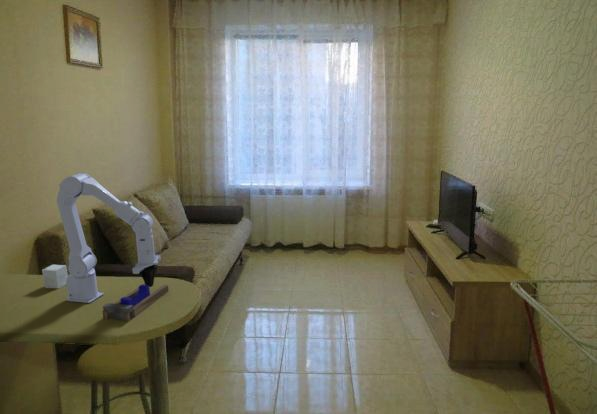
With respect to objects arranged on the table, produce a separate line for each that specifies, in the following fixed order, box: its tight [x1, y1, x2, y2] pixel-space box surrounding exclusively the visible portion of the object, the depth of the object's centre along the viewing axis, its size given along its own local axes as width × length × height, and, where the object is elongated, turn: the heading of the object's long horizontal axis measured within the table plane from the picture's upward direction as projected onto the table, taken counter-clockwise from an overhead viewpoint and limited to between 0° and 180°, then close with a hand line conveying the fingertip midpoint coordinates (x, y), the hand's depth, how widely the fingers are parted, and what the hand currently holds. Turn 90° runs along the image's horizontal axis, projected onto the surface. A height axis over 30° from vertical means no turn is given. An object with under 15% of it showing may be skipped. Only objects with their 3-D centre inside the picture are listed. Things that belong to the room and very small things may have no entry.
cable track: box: [101, 282, 169, 322], centre depth 158 cm, size 9×24×4 cm, turn 165°
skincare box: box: [41, 264, 69, 290], centre depth 176 cm, size 6×6×7 cm
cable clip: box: [119, 284, 151, 306], centre depth 155 cm, size 12×4×6 cm, turn 167°
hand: (149, 286), depth 165 cm, fingers closed
